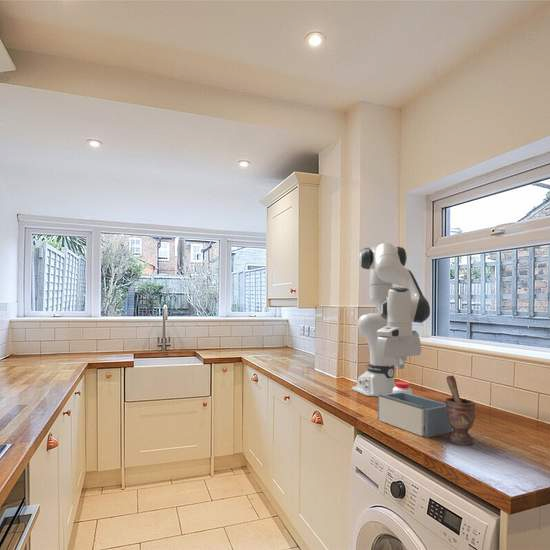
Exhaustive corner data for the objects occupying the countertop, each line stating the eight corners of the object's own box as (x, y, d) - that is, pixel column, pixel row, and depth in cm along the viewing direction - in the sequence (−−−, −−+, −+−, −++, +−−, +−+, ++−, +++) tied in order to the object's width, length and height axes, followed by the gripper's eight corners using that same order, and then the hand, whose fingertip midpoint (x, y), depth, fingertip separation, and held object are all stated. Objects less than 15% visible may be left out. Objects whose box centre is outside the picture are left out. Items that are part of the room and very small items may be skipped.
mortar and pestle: (433, 435, 133) (433, 375, 134) (452, 432, 136) (452, 374, 137) (460, 447, 122) (460, 382, 124) (481, 444, 126) (480, 381, 127)
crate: (377, 419, 150) (377, 395, 150) (401, 414, 157) (401, 391, 157) (427, 437, 131) (427, 410, 131) (452, 431, 137) (452, 405, 138)
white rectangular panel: (378, 420, 148) (379, 394, 149) (380, 419, 148) (381, 394, 149) (421, 436, 132) (421, 406, 132) (423, 435, 132) (423, 406, 133)
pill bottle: (413, 409, 165) (413, 382, 166) (409, 413, 158) (409, 386, 159) (395, 406, 169) (395, 380, 170) (390, 410, 162) (390, 383, 163)
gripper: (411, 329, 154) (411, 365, 153) (373, 330, 144) (373, 369, 143) (425, 331, 149) (425, 368, 148) (386, 332, 138) (386, 372, 137)
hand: (399, 368), depth 145 cm, fingers closed
